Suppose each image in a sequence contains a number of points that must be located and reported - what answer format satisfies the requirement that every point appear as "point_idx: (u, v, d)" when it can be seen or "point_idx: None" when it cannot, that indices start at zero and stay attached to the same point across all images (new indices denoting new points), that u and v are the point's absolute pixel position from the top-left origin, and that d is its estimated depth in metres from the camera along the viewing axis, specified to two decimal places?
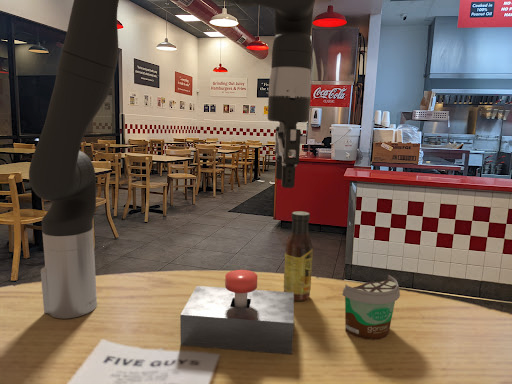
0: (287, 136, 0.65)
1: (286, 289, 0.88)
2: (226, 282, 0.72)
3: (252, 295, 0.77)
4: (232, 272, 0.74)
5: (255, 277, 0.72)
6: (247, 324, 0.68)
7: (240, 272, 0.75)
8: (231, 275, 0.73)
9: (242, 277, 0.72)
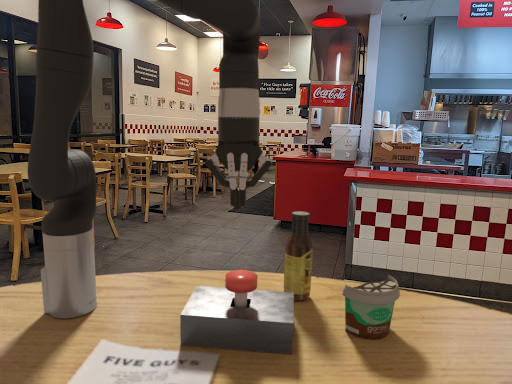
0: (268, 168, 0.71)
1: (286, 289, 0.88)
2: (226, 282, 0.72)
3: (252, 295, 0.77)
4: (232, 272, 0.74)
5: (255, 277, 0.72)
6: (247, 324, 0.68)
7: (240, 272, 0.75)
8: (231, 275, 0.73)
9: (242, 277, 0.72)
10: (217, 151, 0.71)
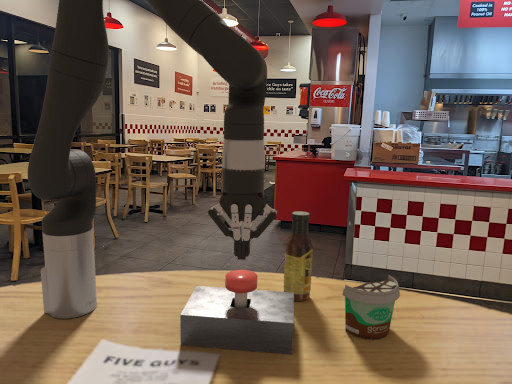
0: (273, 219, 0.69)
1: (286, 289, 0.88)
2: (226, 282, 0.72)
3: (252, 295, 0.77)
4: (232, 272, 0.74)
5: (255, 277, 0.72)
6: (247, 324, 0.68)
7: (240, 272, 0.75)
8: (231, 275, 0.73)
9: (242, 277, 0.72)
10: (221, 201, 0.69)
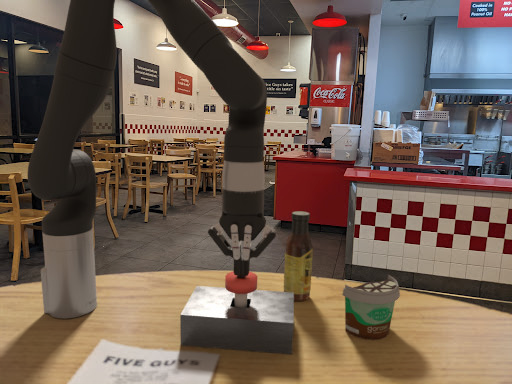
0: (272, 239, 0.70)
1: (286, 289, 0.88)
2: (226, 283, 0.72)
3: (252, 295, 0.77)
4: (232, 273, 0.74)
5: (255, 278, 0.72)
6: (247, 324, 0.68)
7: None
8: (231, 276, 0.73)
9: None
10: (221, 221, 0.70)
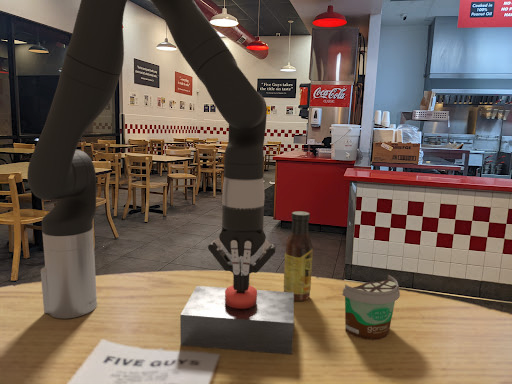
0: (272, 255, 0.70)
1: (286, 289, 0.88)
2: (226, 297, 0.72)
3: None
4: (232, 287, 0.75)
5: (255, 292, 0.73)
6: (247, 324, 0.68)
7: None
8: (231, 290, 0.73)
9: None
10: (221, 237, 0.70)
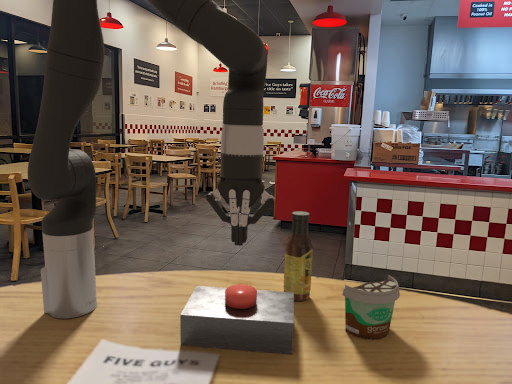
0: (270, 206, 0.69)
1: (286, 289, 0.88)
2: (226, 297, 0.72)
3: None
4: (232, 287, 0.75)
5: (255, 292, 0.73)
6: (247, 324, 0.68)
7: (240, 287, 0.75)
8: (231, 290, 0.73)
9: (241, 292, 0.73)
10: (219, 187, 0.69)
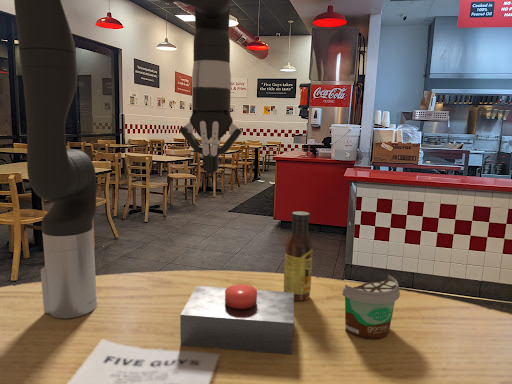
0: (238, 136, 0.77)
1: (286, 289, 0.88)
2: (226, 297, 0.72)
3: None
4: (232, 287, 0.75)
5: (255, 292, 0.73)
6: (247, 324, 0.68)
7: (240, 287, 0.75)
8: (231, 290, 0.73)
9: (241, 292, 0.73)
10: (191, 119, 0.77)
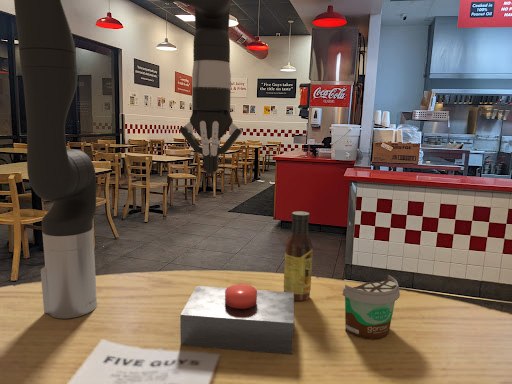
0: (238, 136, 0.77)
1: (286, 289, 0.88)
2: (226, 297, 0.72)
3: None
4: (232, 287, 0.75)
5: (255, 292, 0.73)
6: (247, 324, 0.68)
7: (240, 287, 0.75)
8: (231, 290, 0.73)
9: (241, 292, 0.73)
10: (191, 119, 0.77)
